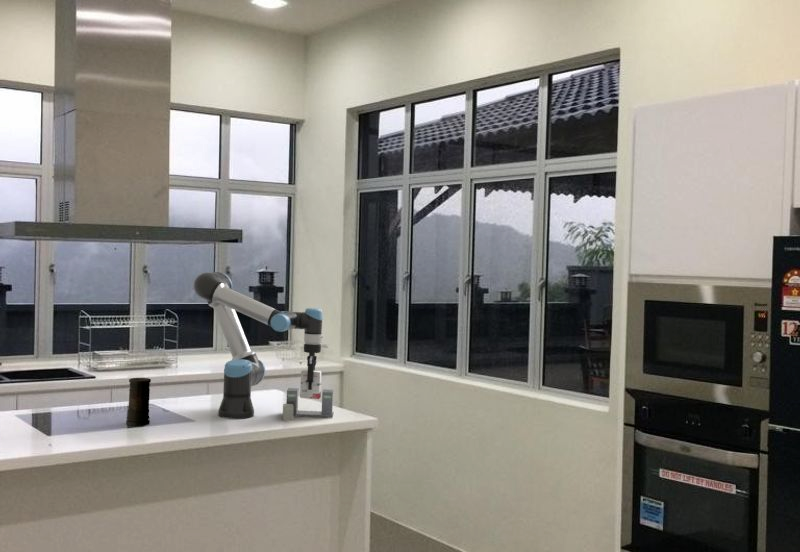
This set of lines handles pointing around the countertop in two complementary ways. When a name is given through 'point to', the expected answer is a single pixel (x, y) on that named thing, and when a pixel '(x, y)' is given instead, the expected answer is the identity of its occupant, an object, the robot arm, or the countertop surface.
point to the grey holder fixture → (326, 411)
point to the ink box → (316, 384)
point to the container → (139, 402)
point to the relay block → (288, 411)
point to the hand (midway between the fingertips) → (310, 395)
